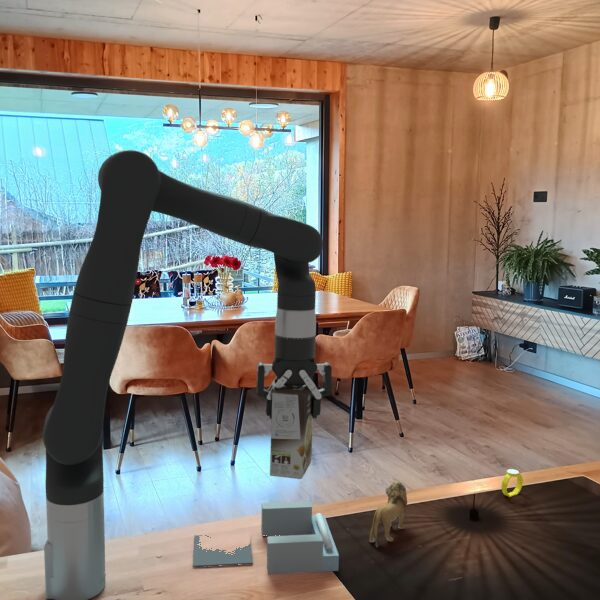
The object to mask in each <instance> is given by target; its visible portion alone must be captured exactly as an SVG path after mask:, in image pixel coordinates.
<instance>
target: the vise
mask: <svg viewBox="0 0 600 600" xmlns="http://www.w3.org/2000/svg"><path fill="white" fill-rule="evenodd" d="M260 526H261V531H262V532H261V536H262V535H265V536H266V535H267V536H268V537H266V541H267V542H266V570H267V575H284V574H286V575H287V574H303V573H318V572H319V573H321V572H322V573H323V572H339V567H340V566H339V565H340V564H339V563H340V562H339V561H340V560H339V559H340V555H339V551H338V549H337V547H336V544H335V541H334V538H333V536H332V533H331V530H330V528H329V524H328V521H327V519H326V516H325V514H322V513H320V512H318V513H315V514H313V506H312V503H311V501H289V502H286V501H283V502H262V503H261V524H260ZM275 535H276V536H275ZM279 535H280V536H279Z"/></svg>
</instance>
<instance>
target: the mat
mask: <svg viewBox="0 0 600 600" xmlns="http://www.w3.org/2000/svg"><path fill="white" fill-rule="evenodd" d="M202 535H203V534H202ZM202 535H198V534H197V535H194V540H193V541H194V543H193V556H192V558H193V559H192V568H193V567H197V568H209V567H208V566H217V567H220V566H219V565H237V566H239V565H238V564H243V565H242V566H246V565H245V564H253V565H254V561H253V552H252V551H253V550H252V544H251V545H250V544H249V545H248V546H245V547H243V548H240V547H239V548H238V549H237V548H236V550H234V551H235V552H234V551H232V552H234V553H235V554H234V553H231V552H228V553H231V554H233V555H231V554H228V553H227V554H225V553H226V552H224V551H226V550H222V551H221V550H219V549H216V550H215V551H212V550H210V549H209V550H206V549H207V548H206V549H203V550H202V547H201V546H199V545H197V544H199V543H201V542H199V540H200V539H199V538H200V537H199V536H202ZM204 535H205V536H207V535H208V534H204ZM207 537H209V536H207ZM210 538H211V537H210ZM194 544H195V545H194ZM200 545H201V544H200ZM199 547H200V548H199ZM211 549H212V548H211ZM240 549H241V550H240ZM206 551H207V552H206ZM219 551H221V552H219ZM204 566H206V567H204Z"/></svg>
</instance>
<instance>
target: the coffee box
mask: <svg viewBox="0 0 600 600" xmlns="http://www.w3.org/2000/svg"><path fill="white" fill-rule="evenodd" d="M312 397H313V393H312V392H311V391H310V389H309V388H308V386H307V385H304V386H303V387H298V386H291V387H286V386H285V385H283V386H282V388H281V389H280V390H276V389H275V390H274V391H273V392H272V419H270V420H271V421H270V422H271V425H270V426H271V427H270V428H271V429H270V457H269V458H270V460H269V476H270V477H277V478H287V479H293V480H294V479H297V480H302V479H303V477H304V475H305V474H306V472H307V470H308V468H309V467H310V466H311V465H310V464H311V463H312V453H313V452H312V451H313V430H314V429H313V425H314V421H313V420H314V418H312Z"/></svg>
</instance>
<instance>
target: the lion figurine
mask: <svg viewBox="0 0 600 600" xmlns="http://www.w3.org/2000/svg"><path fill="white" fill-rule="evenodd" d="M385 494H386V495H387V504H386V505H384V506H380V507H378V508H376V510H375V512H374V515H373V518H372V519H373V520H372V525H371V528H370V529H371V530H370V531H369V537H368V538H369V539H368V542H370V543H375V547H376V548H378V547H379V546H380V545H379V542H380V541H379V538H378V527H379V525H380V523H381V524H382V526H383V528H384V531H385V532H384V537H385V539H386V540H387V542H393V541H394V537H392V536H390V531H391V527H392V526H393V523H392V522H394V521H395V520H397V518H398V524H397V527H398V529H399V530H404V529H405V526H404V524H403V523H404V519H405V511H406V510H407V507H408V497H407V490H406V487H405V485H404V484H403V483H402V482H401V481H394V480H393V481H392V482H391V483H390V485H389V487H386V488H385Z"/></svg>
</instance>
